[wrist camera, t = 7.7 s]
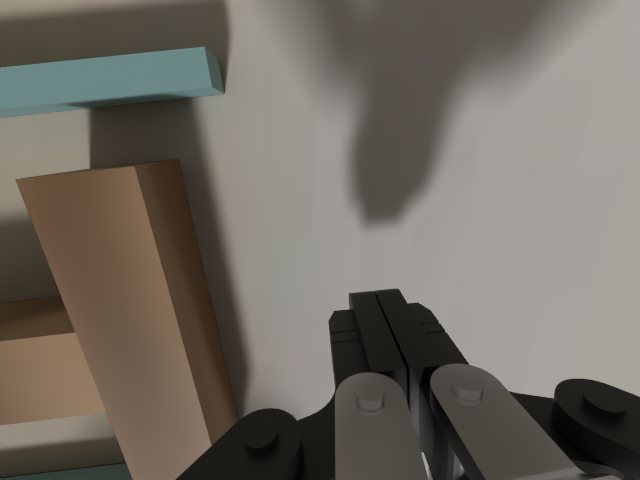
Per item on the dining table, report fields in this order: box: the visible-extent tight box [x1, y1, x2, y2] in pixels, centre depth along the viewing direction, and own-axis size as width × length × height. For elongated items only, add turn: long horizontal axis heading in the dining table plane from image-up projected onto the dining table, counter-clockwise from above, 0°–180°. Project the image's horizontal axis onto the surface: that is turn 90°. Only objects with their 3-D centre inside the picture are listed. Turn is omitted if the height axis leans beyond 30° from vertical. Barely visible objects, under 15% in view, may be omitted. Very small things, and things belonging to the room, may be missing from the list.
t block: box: [0, 159, 239, 480], centre depth 11 cm, size 11×12×3 cm
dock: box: [0, 47, 224, 480], centre depth 12 cm, size 16×17×2 cm
